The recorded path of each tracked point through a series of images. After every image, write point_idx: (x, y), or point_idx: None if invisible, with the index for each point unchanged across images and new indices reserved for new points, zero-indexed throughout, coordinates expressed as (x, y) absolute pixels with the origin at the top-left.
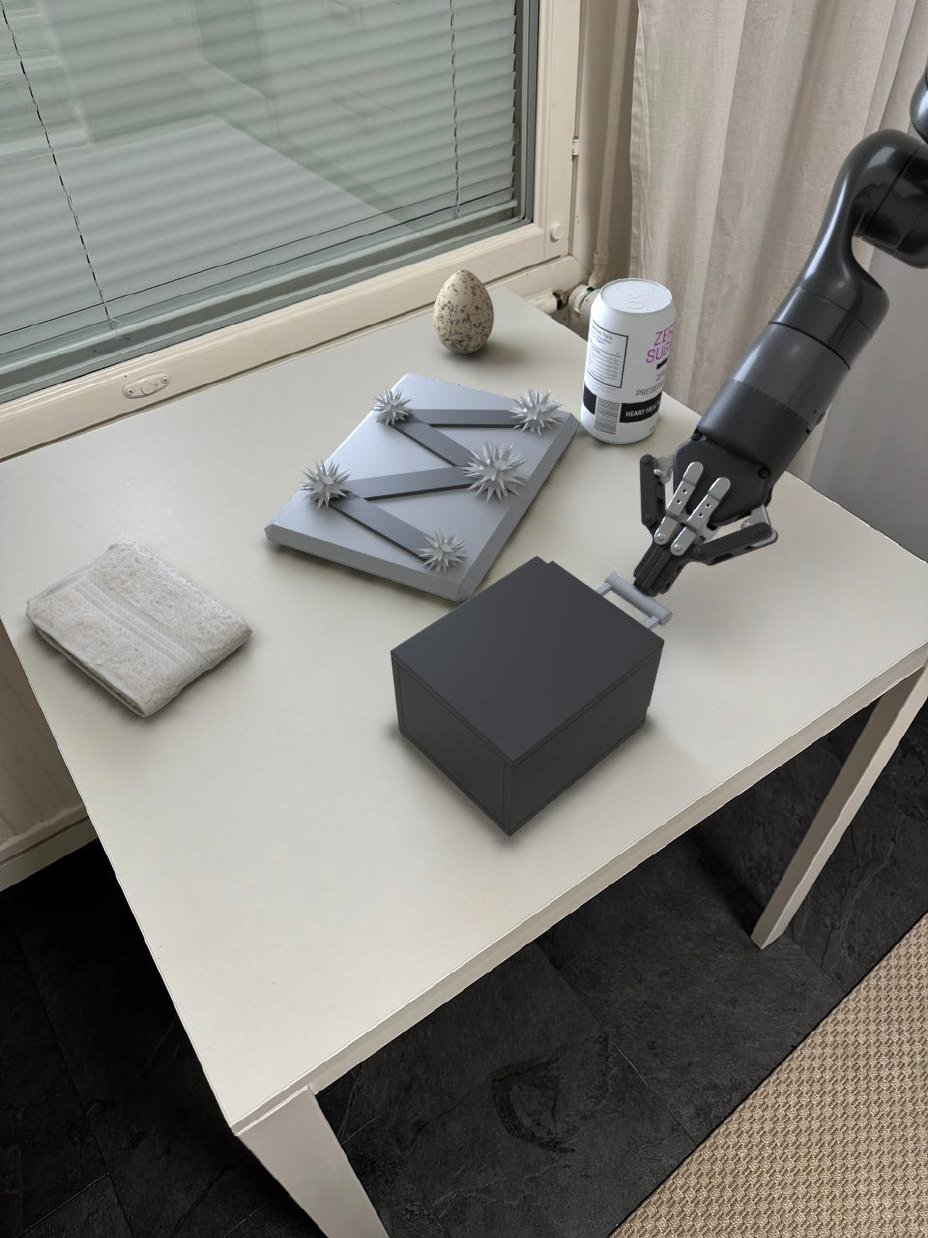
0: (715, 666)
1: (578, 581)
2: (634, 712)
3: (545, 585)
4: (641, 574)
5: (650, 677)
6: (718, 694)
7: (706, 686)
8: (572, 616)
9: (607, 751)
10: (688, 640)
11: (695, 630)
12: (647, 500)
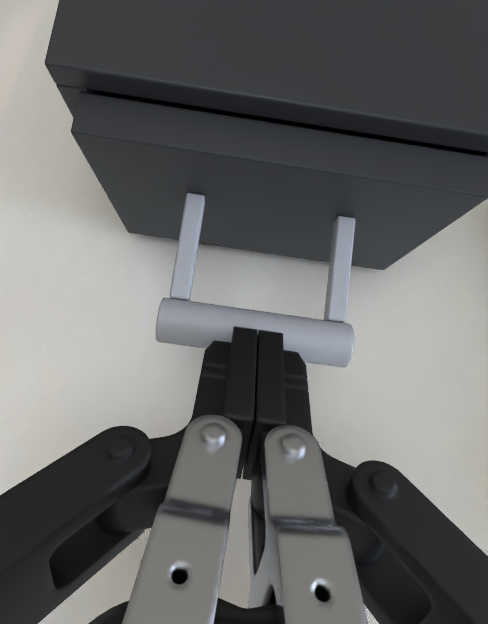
0: (85, 412)
1: (382, 172)
2: None
3: (433, 61)
4: (276, 350)
5: None
6: (49, 354)
7: (76, 357)
8: (302, 11)
9: None
10: None
11: None
12: (448, 552)
